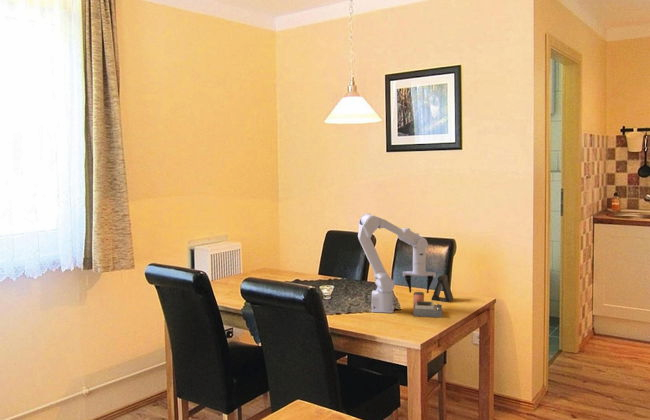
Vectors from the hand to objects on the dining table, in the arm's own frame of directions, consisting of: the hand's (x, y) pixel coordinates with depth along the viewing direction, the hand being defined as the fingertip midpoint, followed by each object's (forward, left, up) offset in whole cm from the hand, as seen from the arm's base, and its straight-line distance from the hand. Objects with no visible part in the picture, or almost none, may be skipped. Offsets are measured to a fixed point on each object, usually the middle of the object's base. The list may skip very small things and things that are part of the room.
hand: (418, 292), depth 254 cm
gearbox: (+4, -9, -7) cm, 12 cm away
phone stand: (+11, +16, -8) cm, 21 cm away
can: (0, 0, -7) cm, 7 cm away
